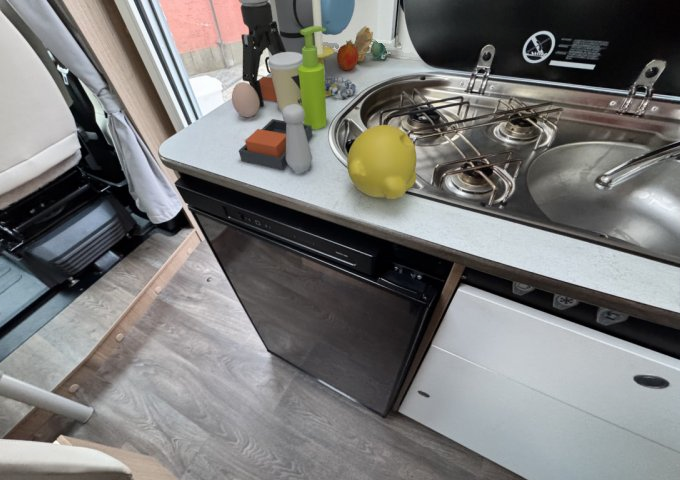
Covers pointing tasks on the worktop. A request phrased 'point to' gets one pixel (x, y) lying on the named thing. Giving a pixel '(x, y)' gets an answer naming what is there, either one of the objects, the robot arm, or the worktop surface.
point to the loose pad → (267, 89)
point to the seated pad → (267, 142)
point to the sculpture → (382, 162)
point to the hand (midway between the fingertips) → (271, 96)
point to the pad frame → (268, 159)
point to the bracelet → (339, 81)
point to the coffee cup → (286, 78)
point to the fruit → (347, 56)
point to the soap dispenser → (312, 82)
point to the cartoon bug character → (363, 44)
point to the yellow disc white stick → (321, 50)
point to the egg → (245, 99)
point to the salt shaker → (296, 139)
